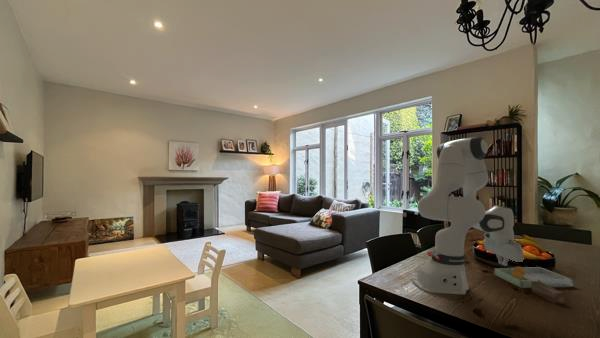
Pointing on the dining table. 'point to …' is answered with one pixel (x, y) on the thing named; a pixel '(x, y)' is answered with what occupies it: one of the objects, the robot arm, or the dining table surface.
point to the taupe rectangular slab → (547, 292)
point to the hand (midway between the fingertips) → (502, 264)
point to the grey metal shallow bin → (546, 277)
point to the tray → (512, 278)
